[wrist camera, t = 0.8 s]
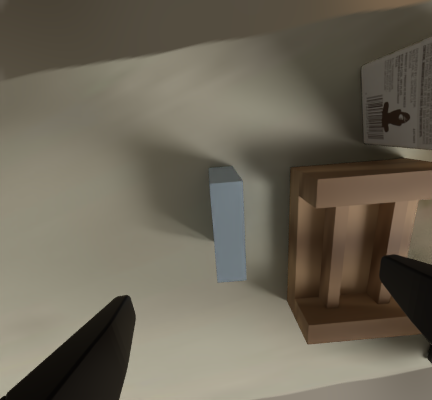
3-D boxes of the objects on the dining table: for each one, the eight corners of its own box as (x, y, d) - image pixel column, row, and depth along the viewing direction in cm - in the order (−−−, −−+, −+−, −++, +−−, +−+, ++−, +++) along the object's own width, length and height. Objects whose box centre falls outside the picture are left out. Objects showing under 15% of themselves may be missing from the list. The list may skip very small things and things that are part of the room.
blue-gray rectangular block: (235, 239, 21) (246, 280, 16) (214, 241, 21) (217, 282, 16) (232, 166, 19) (242, 181, 14) (208, 167, 19) (209, 183, 14)
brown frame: (381, 292, 24) (425, 333, 19) (287, 301, 24) (307, 344, 19) (405, 158, 20) (469, 167, 15) (290, 167, 19) (317, 179, 15)
